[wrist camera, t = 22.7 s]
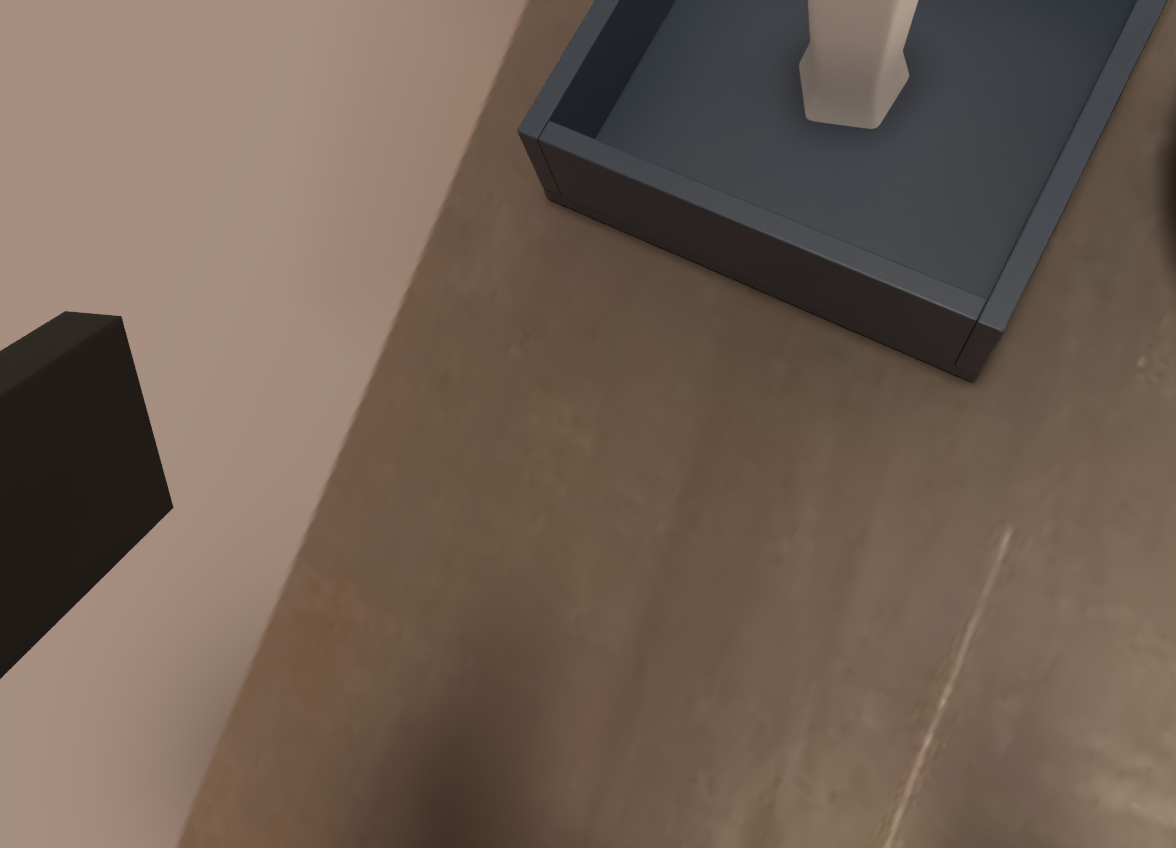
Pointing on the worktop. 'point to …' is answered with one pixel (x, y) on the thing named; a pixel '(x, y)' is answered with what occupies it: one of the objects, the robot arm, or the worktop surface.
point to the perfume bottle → (855, 60)
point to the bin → (842, 153)
